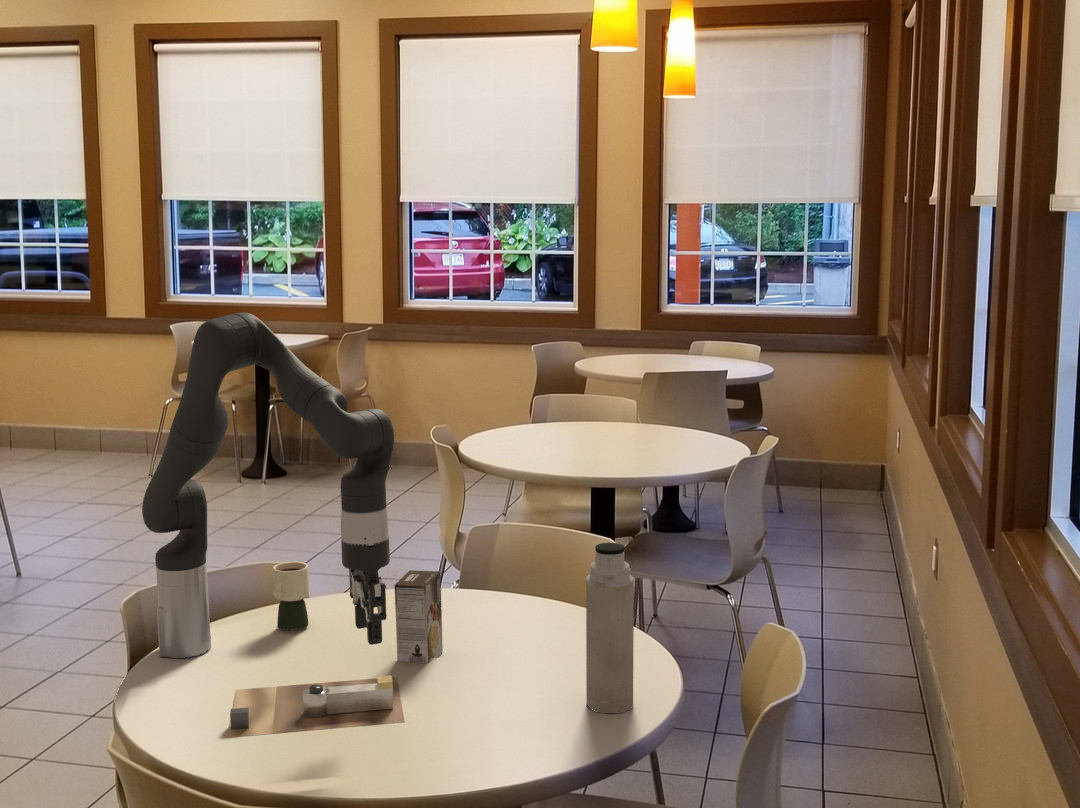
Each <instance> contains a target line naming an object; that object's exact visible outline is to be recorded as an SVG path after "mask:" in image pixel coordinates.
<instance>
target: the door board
mask: <svg viewBox="0 0 1080 808" xmlns="http://www.w3.org/2000/svg"><path fill="white" fill-rule="evenodd" d="M392 682H393V709H382V710H371V711H359V712H347V713H336V714H327V715H325V716H321V717H308V716H306V715H304V711H303V691H304V690H305V689H307V688H309V687H310V686H311V685H315V684H320V685H322V686H323V687H338V686H350V685H362V684H374V683H377V677H376V678H366V679H362V678H361V679H352V680H341V681H340V680H339V681H329V682H328V681H327V682H315V683H314V682H313V683H303V684H302V683H301V684H291V685H290V684H288V685H279V686H277V685H276V686H266V687H253V688H242V689H240V688H239V689H235V691H234V692H235V693H234V698H233V704H232V708H231V709H235V708H247V707H249V723H250V724H249V728H248V729H236V730H231V722H230V721H229V726H228V731H227V736H226V739H228V738H229V739H230V738H240V737H241V738H242V737H252V736H265V735H274V734H286V733H298V732H299V733H300V732H307V731H319V730H320V731H321V730H332V729H343V728H344V729H345V728H355V727H366V726H376V725H386V724H399V723H405V716H404V710H403V705H402V699H401V693H400V692H401V691H400V687H399V679H398V676H392Z"/></svg>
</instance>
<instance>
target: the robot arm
mask: <svg viewBox="0 0 1080 808" xmlns="http://www.w3.org/2000/svg"><path fill="white" fill-rule="evenodd" d="M190 352H191V353H190V358H189V364H188V369H187V374H186V379H185V382H184V387H183V389H182V394H181V396H180V400H179V403H178V406H177V409H176V410H175V411H176V412H175V414H174V417H173V419H172V423H171V426H170V429H169V433H168V437H167V440H166V444H165V446H164V449H163V451H162V455H161V458H160V459H159V462H158V465H157V466H156V468H155V471H154V473H153V475H152V477H151V479H150V481H149V484H148V485H147V487H146V490H145V492H144V496H143V499H142V504H141V505H142V507H141V511H142V513H141V514H142V519H143V523H144V525H145V526H146V528H147V529H149V531H151V532H153V533H156V534H164V533H165V534H167V533H173V532H177V531H179V532H178V533H177V535H176V536H175V537H174V538H172V540H171V541H169V542H168V543H167V544H165V545H163V546H162V547H160V548H159V549H158V550H157V551H156V553H155V555H154V557H155V559H154V560H155V572H156V573H155V574H156V575H155V576H156V584H157V588H156V589H157V601H158V605H157V608H156V617H157V618H156V619H157V620H156V621H157V622H156V623H157V635H158V637H157V638H158V650H159V657H160V658H161V657H166V658H171V659H172V658H173V659H186V658H185V657H187V658H192V656H193V657H197V656H201V655H203V654H205V653H207V652H208V651H210V650H211V648H212V635H211V621H210V617H211V616H210V605H209V604H210V603H209V586H208V569H207V568H208V567H207V551H208V503H207V496H206V493H205V490H204V487H203V485H202V484H201V483H200V482H199V481H197V480H196V479H192V478H193V477H194V476H195V475H197V474H198V473H199V472H200V471H202V469H204V468H205V467H206V466H208V464H209V463H211V461H212V460H213V459H214V458H215V457H216V455H217V454H218V452H219V450H220V449H221V447H222V444H223V441H224V438H225V435H226V433H227V430H228V426H229V417H228V416H229V415H228V412H227V409H226V407H225V404H224V403H223V401H222V398H221V397H220V396H219V392H220V388H221V385H222V383H223V381H224V379H225V377H226V376H227V375H228V374H229V373H230V372H233V371H237V370H241V369H244V368H248V367H251V366H253V365H257V366H258V367H259V366H260V367H261V368H263V369H265V370H267V371H268V372H270V374H272V375H273V376H274V378H275V382H276V386H277V391H278V393H279V396H280V397H281V399H282V401H283V403H284V404H285V405H286V406H287V408H288V409H289V410H291V411H292V412H293V413H295V414H296V415H297V416H299V417H300V418H301V419H303V420H304V421H305V422H307V423H308V424H309V425H311V426H312V427H313V428H314V430H315V431H316V433H317V434H318V436H319V437H320V438H321V439H322V441H323V442H324V444H325V445H326V446H327V448H328V449H329V450H330V451H331V452H332V453H333V454H335V455H337V456H339V457H341V458H344V459H348V460H350V459H356V462H355V465H353V467H352V468H351V469H349V470H348V471H347V472H345V473H344V474H343V475H342V477H341V480H340V502H341V505H340V507H341V513H340V514H341V516H340V545H341V546H340V547H341V548H340V549H341V564H342V566H343V567H344V568H345V569H347V570H348V575H349V576H348V577H349V597H350V599H352V604H353V606H354V619H355V622H354V623H355V627H356V628H357V629H358V630H360V629H365V628H366V634H367V637H366V638H367V643H368V644H369V646H370V645H371V646H372V645H379V644H381V643H382V642H383V624H382V623H383V621H386V620H387V601H386V600H387V599H386V598H387V597H386V596H387V594H386V591H387V590H386V588H387V585H386V584H385V582H383V581H382V577H381V576H380V575H379V570H380V569H381V568H384V567H385V568H386V567H387V566H388V565H389V564H390V562H391V561H390V560H391V558H390V557H391V556H390V555H391V554H390V553H391V552H390V550H391V549H390V528H389V526H390V525H389V523H390V522H389V516H388V509H387V488H386V487H387V486H386V481H387V476H388V473H389V471H390V470H389V469H390V465H391V458H392V456H393V449H394V444H395V429H394V425H393V423H392V421H391V418H390V417H389V416H388V414H387V413H386V412H385V411H384V410H382V409H380V408H369V409H368V408H367V409H362V410H358V411H353V412H348V408H349V403H348V399H347V397H346V395H345V394H344V393H343V392H342V391H340V390H339V389H338V388H336V386H334V385H332V384H331V383H330V382H328V381H327V380H325V379H323V378H322V377H321V376H319V375H318V374H316V373H315V372H314V371H312V370H311V369H310V368H309V367H308V366H306V364H304V363H303V362H302V361H301V360H300V358H298V357H297V356H296V354H294V353H293V352H292V351H291V350H290V348H289V347H288V346H287V345H286V344H285V343H284V342H283V341H282V340H281V339H280V338H279V337H278V336H277V335H276V333H274V332H273V331H272V329H271V328H269V327H268V326H267V324H265V322H263V321H262V320H261V319H259V317H257V316H255V315H254V314H252V313H249V312H235V313H232V314H231V313H230V314H227V315H225V316H224V315H223V316H219V317H215V318H211V319H209V320H206V321H204V322H203V323H202V324H201V325H200V326H199V327H198V328H197V330H196V332H195V335H194V338H193V342H192V348H191V351H190ZM375 608H376V610H377V612H376V613H375ZM209 649H210V650H209ZM207 650H208V651H207ZM206 651H207V652H206ZM202 653H203V654H202ZM200 654H201V655H200Z"/></svg>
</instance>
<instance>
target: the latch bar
mask: <svg viewBox="0 0 1080 808" xmlns="http://www.w3.org/2000/svg"><path fill="white" fill-rule="evenodd" d="M392 677H393V675H378V676H377V677H376V678H377V683H374V684H362V685H350V686H338V687H323V686H322V685H320V684H315V685H311V686H310V687H309V688H307V689H305V690H304V691H303V711H304V715H306V716H308V717H321V716H325V715H327V714H336V713H347V712H359V711H371V710H382V709H393V682H392Z"/></svg>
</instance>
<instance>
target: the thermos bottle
mask: <svg viewBox="0 0 1080 808" xmlns="http://www.w3.org/2000/svg"><path fill="white" fill-rule="evenodd" d="M594 550H595V552H596V553H595V559H594V560H595V561H593V562H591V563H590V568H589V570H588V571H589V574H588V575H587V576H586V578H585V580H586V581H585V585H586V586H585V589H586V591H585V592H586V593H585V594H586V595H585V596H586V598H585V600H586V601H585V602H586V606H585V607H586V609H585V610H586V611H585V612H586V614H585V616H586V617H585V619H586V620H585V621H586V622H585V624H586V625H585V627H586V629H585V630H586V631H585V632H586V633H585V636H586V638H585V640H586V642H585V643H586V645H585V646H586V648H585V649H586V650H585V651H586V658H585V659H586V660H585V661H586V681H585V682H586V695H585V696H586V706H587V705H588V706H589V707H590V708H591V709H593V710H595V711H594V712H596V711H597V712H596V713H599V712H601V713H600V714H605V713H616V714H621V713H620V712H622V713H625V712H627V710H628V711H629V710H631V709H632V708H633V706H634V637H635V636H634V635H635V634H634V624H635V623H634V620H635V619H634V617H635V616H634V608H635V607H634V605H635V603H634V599H635V598H634V595H635V594H634V593H635V592H634V591H635V587H634V584H635V583H634V582H635V581H634V577H633V576H632V575H631V574H630V572H631V568H630V564H629V563H628V562H627V561H625V553H624V552H625V550H626V548H625V545H624V544H621V543H617V542H602V543H598V544H596V545H595V549H594ZM588 706H587V707H588ZM589 707H588V708H589ZM631 707H632V708H631ZM590 708H589V709H590ZM630 708H631V709H630ZM591 709H590V710H591ZM593 710H592V711H593Z"/></svg>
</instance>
